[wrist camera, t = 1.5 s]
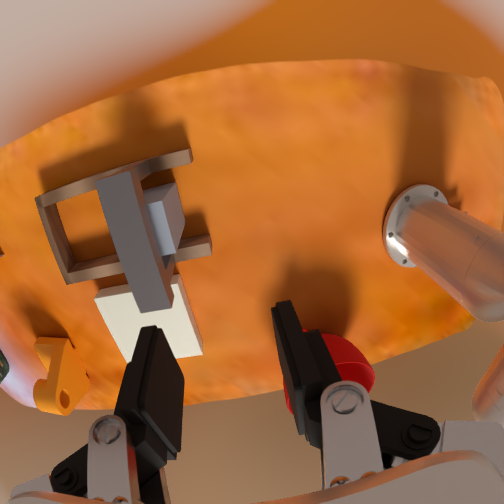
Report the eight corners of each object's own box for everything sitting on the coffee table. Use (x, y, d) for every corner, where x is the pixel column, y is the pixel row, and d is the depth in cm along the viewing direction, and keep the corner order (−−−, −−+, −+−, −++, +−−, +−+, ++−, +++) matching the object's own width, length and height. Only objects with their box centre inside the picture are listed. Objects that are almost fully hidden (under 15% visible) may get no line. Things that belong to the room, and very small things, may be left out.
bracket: (38, 333, 39) (9, 381, 28) (70, 335, 39) (43, 388, 29) (61, 377, 43) (41, 424, 32) (92, 380, 44) (75, 431, 33)
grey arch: (154, 157, 28) (129, 170, 20) (182, 262, 33) (171, 308, 25) (128, 165, 28) (94, 181, 19) (157, 267, 33) (140, 313, 24)
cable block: (175, 181, 32) (161, 200, 24) (185, 222, 35) (176, 252, 26) (135, 191, 32) (110, 213, 24) (146, 230, 34) (127, 263, 26)
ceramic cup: (331, 282, 40) (359, 325, 31) (358, 353, 47) (380, 394, 38) (248, 323, 41) (257, 373, 32) (292, 385, 48) (304, 429, 39)
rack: (190, 147, 31) (188, 149, 28) (212, 244, 36) (211, 254, 33) (46, 192, 30) (34, 198, 28) (74, 274, 35) (66, 284, 33)
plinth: (179, 273, 37) (177, 283, 35) (202, 343, 42) (202, 354, 40) (99, 289, 37) (94, 298, 34) (130, 353, 42) (127, 363, 39)
